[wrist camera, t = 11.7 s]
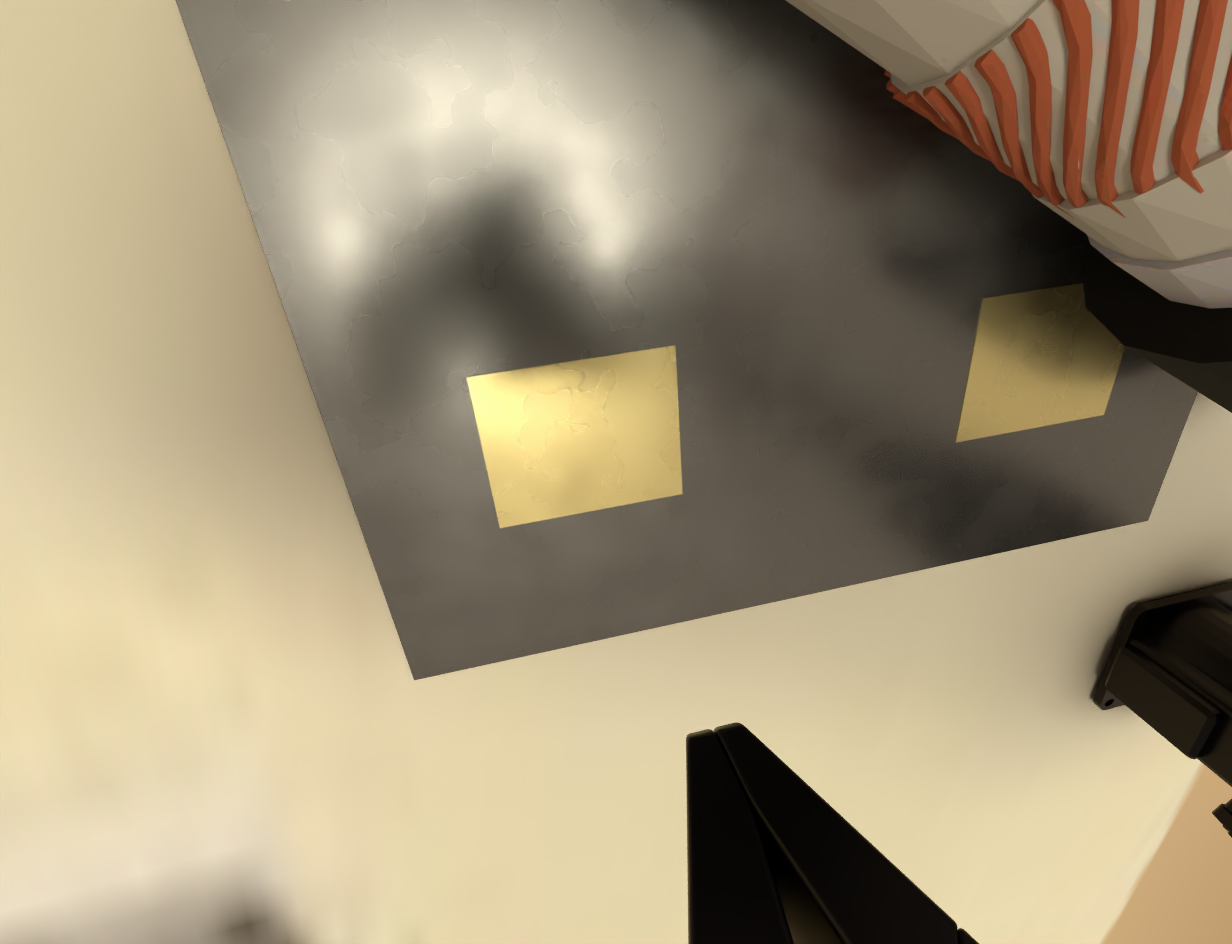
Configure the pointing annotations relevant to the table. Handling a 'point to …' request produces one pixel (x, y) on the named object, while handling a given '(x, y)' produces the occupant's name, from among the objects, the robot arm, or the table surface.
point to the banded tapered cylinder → (1091, 142)
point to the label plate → (661, 312)
